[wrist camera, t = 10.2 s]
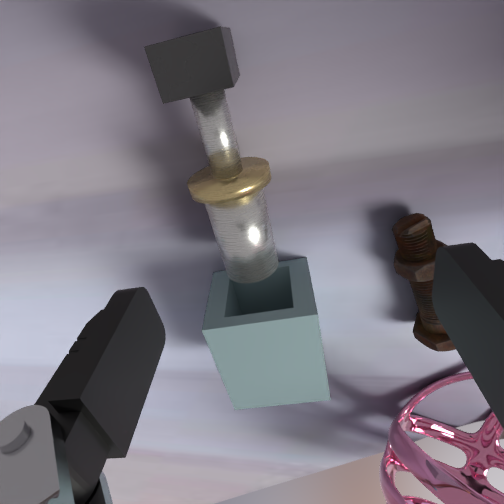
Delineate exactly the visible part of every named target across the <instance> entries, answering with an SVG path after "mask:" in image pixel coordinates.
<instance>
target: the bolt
mask: <svg viewBox="0 0 504 504" xmlns="http://www.w3.org/2000/svg"><path fill="white" fill-rule="evenodd" d="M392 230H393V233H394V235H395V239H396V241H397V244H398V248H399V249H398V250H397V252H396V254H395V258H394V267H395V270H396V273H398V274H399V275H401V276H402V277H404V278H406V279H407V280H409V281H410V284H411V287H412V290H413V293H414V296H415V300H416V303H417V306H418V308H419V313H417V316H416V320H415V324H414V328H413V333H414V336H415V338H416V339H417V340H418V341H420V342H421V343H422V344H424V345H425V346H427V347H429V348H430V349H433V350H435V351H450V350H454V349H456V348H455V346H454V344H453V343H452V341H451V339H450V338H449V336H448V334H447V333H446V331H445V329H444V327H443V326H442V324H441V322H440V321H439V319H438V317H437V315H436V313H435V310H434V307H433V302H432V288H433V278H434V268H435V258H436V252H437V249H438V248H439V247H443V246H447V245H446V244H444V243H442V242H440V241H438V240H436V239H435V236H434V232H433V229H432V225H431V220H430V219H428V217H426V216H424V214H419V213H415V214H411V215H408V216H405V217H403V218H401V219H400V220H399V221H398V222H397V223H396V224H395V225H394V226H393V228H392Z"/></svg>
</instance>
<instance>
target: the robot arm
mask: <svg viewBox="0 0 504 504" xmlns="http://www.w3.org/2000/svg"><path fill="white" fill-rule="evenodd" d="M432 302H433V307H434V310H435V313H436V315H437V317H438V319H439V321H440V322H441V324H442V326H443V327H444V329H445V331H446V333H447V334H448V336H449V338H450V339H451V341H452V343H453V344H454V346H455V348H456V350H457V351H458V353H459V355H460V356H461V358H462V360H463V361H464V363H465V365H466V367H467V368H468V370H469V372H470V373H471V375H472V377H473V378H474V380H475V382H476V383H477V385H478V387H479V389H480V390H481V392H482V394H483V395H484V397H485V399H486V400H487V402H488V404H489V406H490V407H491V409H492V411H493V412H494V414H495V416H496V417H497V419H498V421H499V423H500V424H501V426H502V428H503V429H504V261H503V260H501V259H498V260H491V259H490V258H489V257H488V256H487V255H486V254H485V253H484V252H483V251H482V250H481V249H480V248H479V247H478V246H477V245H476V244H474V243H465V244H457V245H450V246H443V247H439V248H438V249H437V252H436V258H435V268H434V278H433V288H432ZM164 345H165V328H164V325H163V323H162V320H161V318H160V316H159V314H158V312H157V310H156V308H155V306H154V304H153V301H152V299H151V297H150V295H149V293H148V291H147V290H146V289H145V288H144V287H139V288H131V289H124V290H118V291H116V292H115V293H114V294H113V296H112V297H111V299H110V301H109V302H108V304H107V305H106V307H105V309H104V310H101V311H100V312H99V313H97V314H96V315H95V316H94V317H93V318H92V319H91V320H90V321H89V322H88V323H87V324H86V325H85V327H84V328H83V330H82V332H81V333H80V335H79V336H78V338H77V341H75V342H74V344H73V346H72V347H71V349H70V350H69V354H67V355H66V356H65V358H64V359H63V361H62V363H61V364H60V366H59V367H58V369H57V370H56V372H55V373H54V375H53V377H52V378H51V380H50V381H49V383H48V384H47V386H46V387H45V389H44V391H43V392H42V394H41V395H40V397H39V398H38V400H37V401H36V403H35V404H34V405H31V406H27V407H24V408H21V409H19V410H17V411H15V412H13V413H12V414H10V415H9V416H7V417H6V418H4V419H3V420H2V421H1V422H0V504H113V503H112V499H111V495H110V491H109V487H108V483H107V480H106V477H105V475H104V473H103V472H102V469H103V467H104V464H105V462H106V459H107V458H125V457H126V454H127V452H128V449H129V446H130V443H131V440H132V437H133V434H134V431H135V429H136V426H137V423H138V420H139V417H140V414H141V411H142V408H143V405H144V403H145V400H146V397H147V394H148V391H149V388H150V385H151V382H152V380H153V377H154V374H155V371H156V368H157V365H158V362H159V359H160V356H161V354H162V351H163V348H164Z"/></svg>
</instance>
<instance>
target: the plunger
mask: <svg viewBox="0 0 504 504" xmlns="http://www.w3.org/2000/svg"><path fill="white" fill-rule="evenodd" d="M144 48H145V51H146V54H147V57H148V60H149V63H150V66H151V69H152V72H153V75H154V78H155V81H156V84H157V87H158V90H159V93H160V96H161V99H162V102H163V104H164V103H168V102H172V101H177V100H181V99H185V98H190V101H191V104H192V108H193V111H194V115H195V118H196V122H197V125H198V128H199V132H200V135H201V139H202V142H203V146H204V149H205V152H206V156H207V159H208V163H209V166H208V167H206V168H204V169H202V170H200V171H198V172H197V173H195V174H194V175H193V176H191V177H190V178H189V180H188V182H187V185H188V188H189V191H190V194H191V197H192V199H193V200H195V201H197V202H199V203H205V206H206V210H207V213H208V216H209V219H210V222H211V225H212V228H213V231H214V235H215V238H216V241H217V244H218V247H219V250H220V253H221V257H222V260H223V263H224V266H225V269H226V272H227V275H228V277H229V278H230V279H231V280H232V281H235V282H237V283H254V282H258V281H261V280H264V279H266V278H267V277H269V276H271V275H272V274H273V273H274V272H275V271H276V269H277V268H278V265H279V261H278V256H277V252H276V247H275V242H274V237H273V233H272V228H271V223H270V219H269V214H268V209H267V204H266V200H265V195H264V190H263V188H264V187H265V186H266V185H267V184H268V183H269V182H270V180H271V173H270V168H269V163H268V161H266V160H265V159H262V158H257V157H244V158H240V154H239V150H238V146H237V142H236V138H235V133H234V129H233V125H232V121H231V117H230V112H229V108H228V104H227V100H226V96H225V91H224V89H227V88H231V87H234V86H235V84H236V82H237V80H238V78H239V76H240V73H239V68H238V64H237V59H236V54H235V49H234V45H233V40H232V35H231V30H230V28H227V27H217V28H213V29H210V30H206V31H202V32H198V33H194V34H191V35H187V36H183V37H179V38H176V39H172V40H168V41H164V42H161V43H157V44H153V45H149V46H145V47H144Z"/></svg>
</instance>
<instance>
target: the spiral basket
mask: <svg viewBox="0 0 504 504" xmlns="http://www.w3.org/2000/svg"><path fill="white" fill-rule="evenodd" d="M468 379H474V378H473V377H472V375H471V373H470V372H469V371H468V372H462V373H458V374H454V375H450V376H447V377H444V378H442V379H439V380H437V381H435V382H433V383H431V384H430V385H428V386H426V387H425V388H423V389H422V390H420V391H419V392H418V393H417V394H416V395H414V396H413V397H412V398H411V399H410V400H409V401H408V402H407V404H406V405H405V406H404V407H403V408H402V410H401V411H400V412H399V413H398V415H397V416H396V417H395V418H394V420H393V421H392V423H391V425H390V427H389V430H388V441H387V445H386V449H385V452H384V455H383V458H382V460H381V463H380V471H379V472H380V473H379V477H380V485H381V489H382V492H383V495H384V497H385V499H386V501H387V504H437V503H434V502H431V501H429V500H426V499H422V498H419V497H414V496H402V495H401V494H400V492H399V491H398V490H397V488H396V487H395V474H396V472H398V471H405V472H411V473H412V474H413V475H414V476H415V477H416V478H417V479H418V480H419V481H420V482H421V483H422V484H423V485H424V486H425V487H426V488H428V489H429V490H430V491H431V492H432V493H433V494H434V495H435V496H436V497H438V498H439V499H440V500H441V501H442V502H443V503H445V504H504V493H502V492H500V491H499V490H497V489H496V488H494V487H493V486H491V484H489V482H488V481H487V477H486V474H487V471H488V469H489V468H491V467H497V468H500V469H502V470H504V449H503V448H502V447H501V446H500V444H499V439H500V436H501V433H502V431H503V428H502V426H501V424H500V423H499V421H498V419H497V417H496V416H495V414H494V412H493V411H492V412H491V413H490V414H489V416H488V417H487V419H486V420H485V422H484V423H483V425H482V427H481V428H480V430H478V431H477V432H476V433H466V432H463V431H461V430H458V429H456V428H454V427H451V426H449V425H446V424H443V423H441V422H438V421H435V420H432V419H429V418H425V417H421V416H417V415H412V414H411V412H412V410H413V409H414V408H415V407H416V405H417V404H418V403H419V402H420V401H422V400H423V399H424V398H425V397H426V396H428V395H429V394H431V393H432V392H434V391H436V390H437V389H439V388H441V387H444V386H446V385H449V384H452V383H455V382H458V381H463V380H468ZM404 431H409V432H414V433H418V434H422V435H426V436H429V437H432V438H435V439H437V440H440V441H443V442H445V443H448V444H450V445H453V446H455V447H457V448H459V449H461V450H462V451H463V452H464V453H465V454H466V456H467V461H466V464H465V466H464V467H462V468H455V467H452V466H449V465H447V464H445V463H442V462H440V461H437V460H435V459H432V458H431V457H430V456H429V455H427V454H426V453H425V452H424V451H423V450H422V449H421V448H420V447H419V446H417V445H416V444H415V443H414V442H413V441H412V440H411V439H410V437H409V436H408V435H407V434H406V433H405V432H404Z"/></svg>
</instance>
